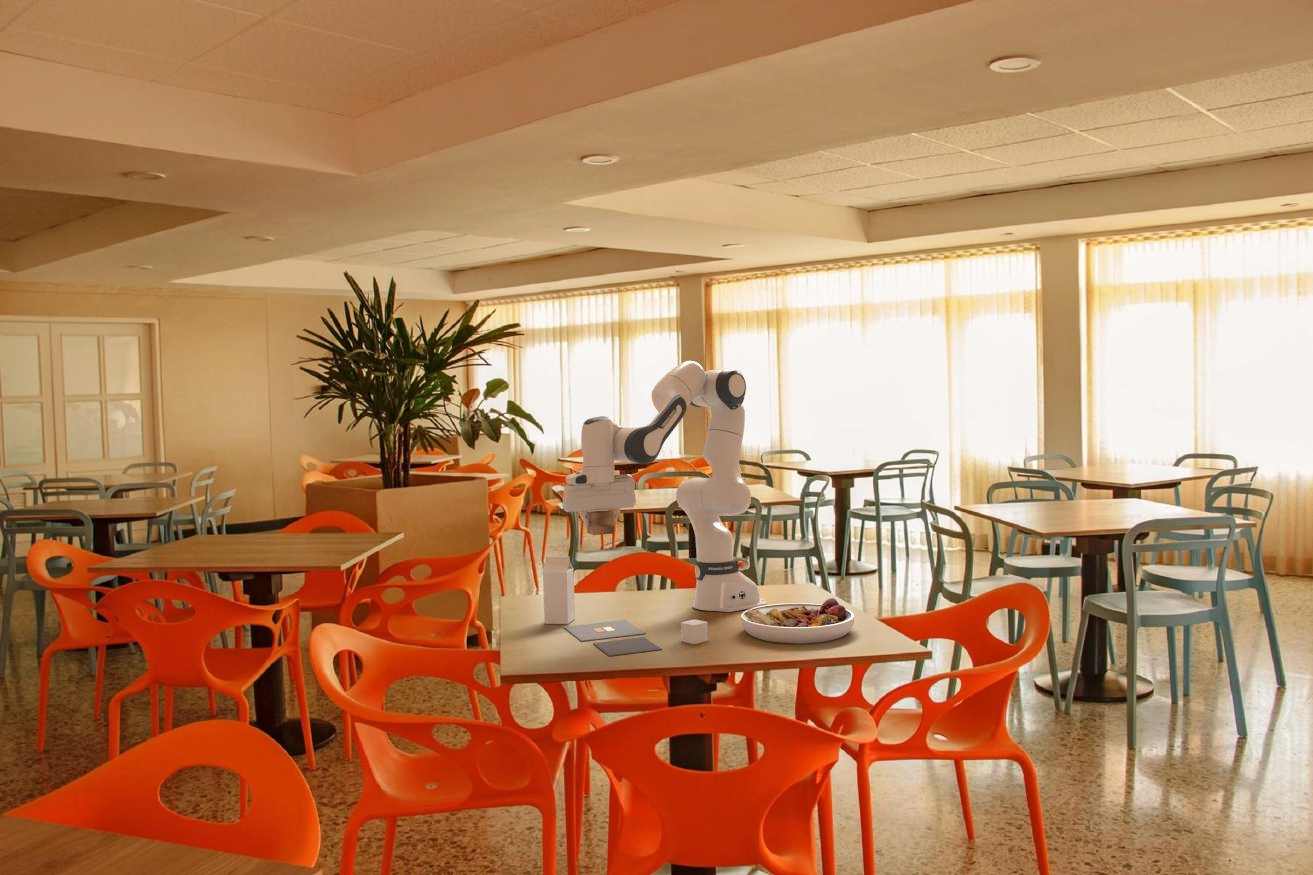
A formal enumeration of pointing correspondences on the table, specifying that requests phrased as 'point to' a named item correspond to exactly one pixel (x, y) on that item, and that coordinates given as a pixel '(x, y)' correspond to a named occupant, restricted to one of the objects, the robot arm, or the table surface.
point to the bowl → (798, 622)
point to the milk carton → (558, 591)
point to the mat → (627, 646)
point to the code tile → (603, 630)
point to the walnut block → (600, 522)
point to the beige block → (694, 631)
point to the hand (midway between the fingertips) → (600, 526)
